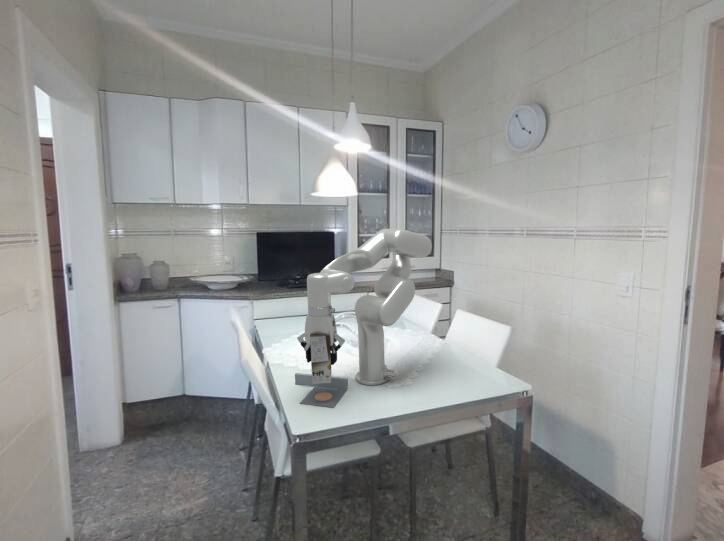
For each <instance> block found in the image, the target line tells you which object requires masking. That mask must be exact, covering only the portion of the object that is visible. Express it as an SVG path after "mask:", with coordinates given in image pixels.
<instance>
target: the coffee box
mask: <svg viewBox="0 0 724 541" xmlns="http://www.w3.org/2000/svg"><path fill="white" fill-rule="evenodd" d="M310 342H311V361H310V363H311V374H312V384H319V383H331V376H332V365H331V353H332V351H331V350H330V335H327V334H310Z"/></svg>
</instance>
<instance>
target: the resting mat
mask: <svg viewBox="0 0 724 541" xmlns="http://www.w3.org/2000/svg"><path fill="white" fill-rule="evenodd" d="M346 393H347V390H339V389H331V388H322V387H313V388H312V389H311V390H310V391H309V392H308V393H307V395H305V397H303V399H302V400H301V401H300V402H299V404H300V405H305V406H306V405H307V406H313V407H323V408H329V409H335V407H336V406H337V404H338V403H339V402H340V400H341V399H342V398H343V397H344V396H345V394H346Z"/></svg>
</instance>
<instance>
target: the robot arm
mask: <svg viewBox="0 0 724 541" xmlns="http://www.w3.org/2000/svg"><path fill="white" fill-rule="evenodd" d="M432 244H433V243H432V241H431V239H430V238H429V237H428V236H426V235H424V234H421V233H418V232H414V231H410V230H407V229H403V228H384V229H380V230H379V231H377V232H376V233H375V234H373V235H372V236H371V237H370V238H369V239H368V240H366V241H365V242H364V243H363V244H362V245H360V246H359V247H357V249H354V250H351V251H349V252H347V253H345V254H343V255H341V256H339V257H337V258H335V259H334V260H332V261H331V262H330V263H328V264H326V266H324V268H322V270H320V272H314V273H310V274H308V275H307V278H306V292H307V295H306V296H307V297H306V298H307V315H306V317H305V324H304V332H303V333H302V334H300V335H299V336H298V337H297V338H296V340H297V341H298V342H299V343H300V346H301V347H302V348H303V350H304V351H305V359H306V362H307V364H308V363H311V342H310V334H327V335H330V350H331V366H334V364H336V363H337V361H338V351H339V350H340V349H341V348H342V347H343V345H344V343H345V342H346V339H344V338H343V337H341V336H340V335H339V334H338V330H337V322H336V318H335V315H334V313H335V312H336V308H333V307H332V297H331V295H345V294H347V293H350V292H351V291H352V290H353V289H354V286H355V279H354V277H353V275H352V274H351V273H355V272H361V271H365V270H369V269H372V268H374V267H375V266H376V265H377V264H378V263H379V262H380V261H381V260H383V259H384V258H385V257H386V256H387V255H388V254H390V253H392V261H391V264H390V265H389V266H388V268H387V269H386V271H385V272H384V273H383V274H382V275H381V276H380V278H379V279H378V280H377V282H376V283H375V285H374V294H375V295H372V294H365V295H364V294H363V295H362V296H360V297H359V298H358V299H356V301H355V304H354V314H355V319H356V323H357V335H358V336H357V338H358V340H357V341H358V365H359V368H358V369H359V370H358V372H357V373H355V375H354V376H355V378H354V379H355V380H356V382H358V383H359V384H360V385H366V386H378V385H382V384H384V383H387V382H388V381H389V380H390V377H391V378H397V372H396V371H395V369H388V365H387V364H386V362H385V360H386V358H385V332H384V327H391V326H393V325H394V324H396V323H397V321H398V320H399V319H400V318H401V317H402V315H403V314H404V312H405V311H406V310H407V309H408V307H409V306H410V304H411V303H412V302H413V300H414V297H415V294H416V285H415V283H414V282H413V280H412V279H410V276H411V274H412V264H411V259H410V258H417V259H422V258H426V257H428V256H430V254H431V252H432V249H433V245H432ZM336 342H338V344H336Z"/></svg>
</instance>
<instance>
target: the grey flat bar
mask: <svg viewBox="0 0 724 541" xmlns="http://www.w3.org/2000/svg"><path fill="white" fill-rule="evenodd" d="M348 379H349V378H348V377H341V376H340V377H339V376H332V375H331V383H319V384H312V373H311V374H309V373H302V372H301V373H300V372H295V373H294V384H295V386H296V385H297V386H303V387H304V386H306V387H313V388H314V387H318V388H327V389H336V390H345V391H348V389H349V380H348Z"/></svg>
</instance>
